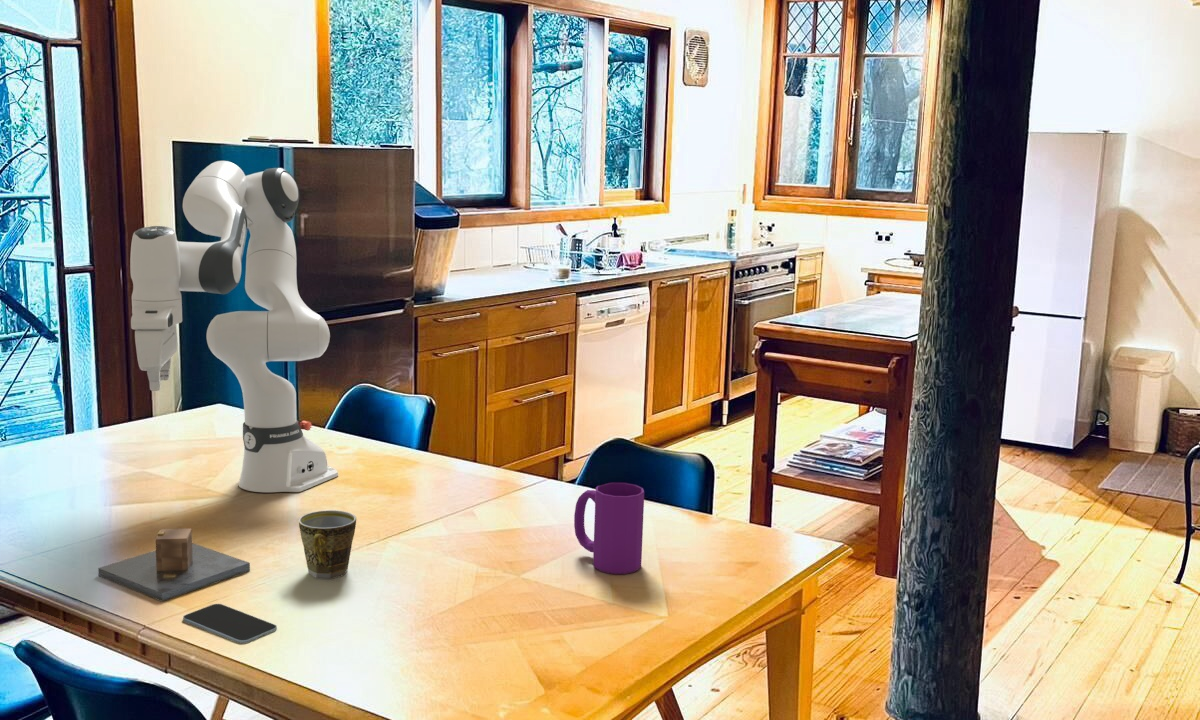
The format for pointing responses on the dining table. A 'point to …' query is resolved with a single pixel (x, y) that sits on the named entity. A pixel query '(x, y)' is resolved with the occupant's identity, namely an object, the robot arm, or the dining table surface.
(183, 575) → the plate
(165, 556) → the taped cardboard carton
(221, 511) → the dining table surface
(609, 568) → the mug
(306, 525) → the ceramic cup
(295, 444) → the robot arm
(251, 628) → the smartphone
